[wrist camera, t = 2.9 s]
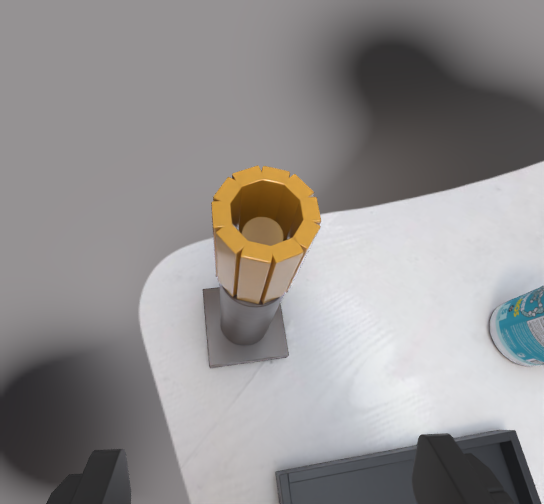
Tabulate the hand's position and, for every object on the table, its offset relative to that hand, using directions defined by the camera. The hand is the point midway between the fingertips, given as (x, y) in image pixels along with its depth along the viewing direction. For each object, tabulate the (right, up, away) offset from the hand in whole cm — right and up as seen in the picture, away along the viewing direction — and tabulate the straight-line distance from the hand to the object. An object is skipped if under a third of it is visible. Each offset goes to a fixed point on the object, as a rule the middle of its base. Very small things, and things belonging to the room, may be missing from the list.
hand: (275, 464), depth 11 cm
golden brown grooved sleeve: (-1, +5, +17) cm, 18 cm away
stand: (-3, -2, +31) cm, 32 cm away
